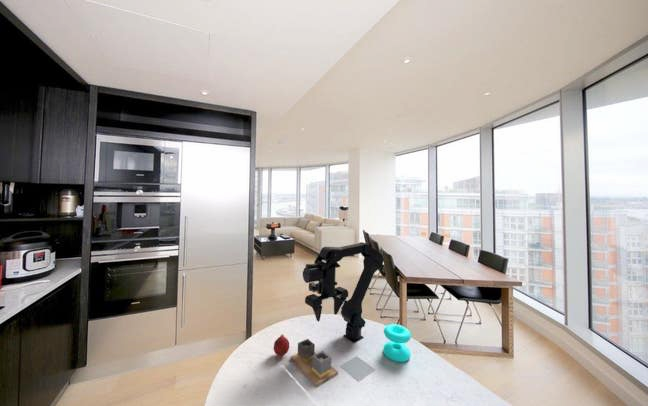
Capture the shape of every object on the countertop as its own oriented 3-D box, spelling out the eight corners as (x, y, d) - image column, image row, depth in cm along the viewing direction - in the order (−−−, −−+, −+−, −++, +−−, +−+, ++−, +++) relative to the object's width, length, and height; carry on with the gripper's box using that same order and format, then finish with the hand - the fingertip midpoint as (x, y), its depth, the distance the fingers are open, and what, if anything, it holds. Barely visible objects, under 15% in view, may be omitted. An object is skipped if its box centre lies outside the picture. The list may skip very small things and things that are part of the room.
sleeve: (330, 372, 77) (331, 357, 77) (320, 378, 75) (320, 362, 75) (322, 365, 81) (322, 350, 81) (312, 370, 78) (312, 355, 78)
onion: (285, 362, 83) (286, 340, 83) (270, 360, 84) (271, 338, 84) (291, 352, 89) (291, 331, 89) (277, 350, 90) (277, 329, 90)
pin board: (310, 351, 90) (310, 335, 90) (338, 375, 78) (338, 356, 78) (290, 360, 84) (290, 343, 84) (317, 388, 72) (317, 368, 72)
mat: (356, 357, 87) (356, 356, 87) (375, 370, 80) (375, 369, 80) (339, 367, 82) (339, 366, 82) (358, 382, 75) (358, 381, 75)
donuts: (399, 321, 96) (416, 334, 86) (399, 345, 96) (415, 361, 86) (379, 324, 93) (394, 338, 83) (378, 349, 93) (393, 366, 83)
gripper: (332, 270, 105) (331, 304, 105) (297, 277, 93) (296, 316, 93) (349, 276, 96) (348, 314, 96) (314, 285, 84) (313, 328, 84)
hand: (326, 317), depth 93 cm, fingers open, 9 cm apart
